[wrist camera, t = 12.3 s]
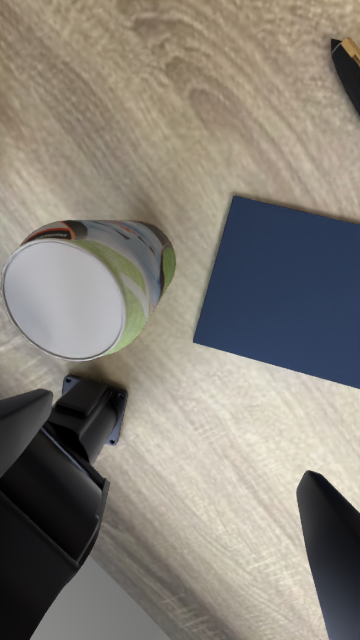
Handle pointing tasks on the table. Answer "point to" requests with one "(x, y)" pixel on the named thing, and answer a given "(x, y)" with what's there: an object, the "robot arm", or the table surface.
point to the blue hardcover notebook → (286, 291)
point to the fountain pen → (348, 67)
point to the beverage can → (86, 285)
